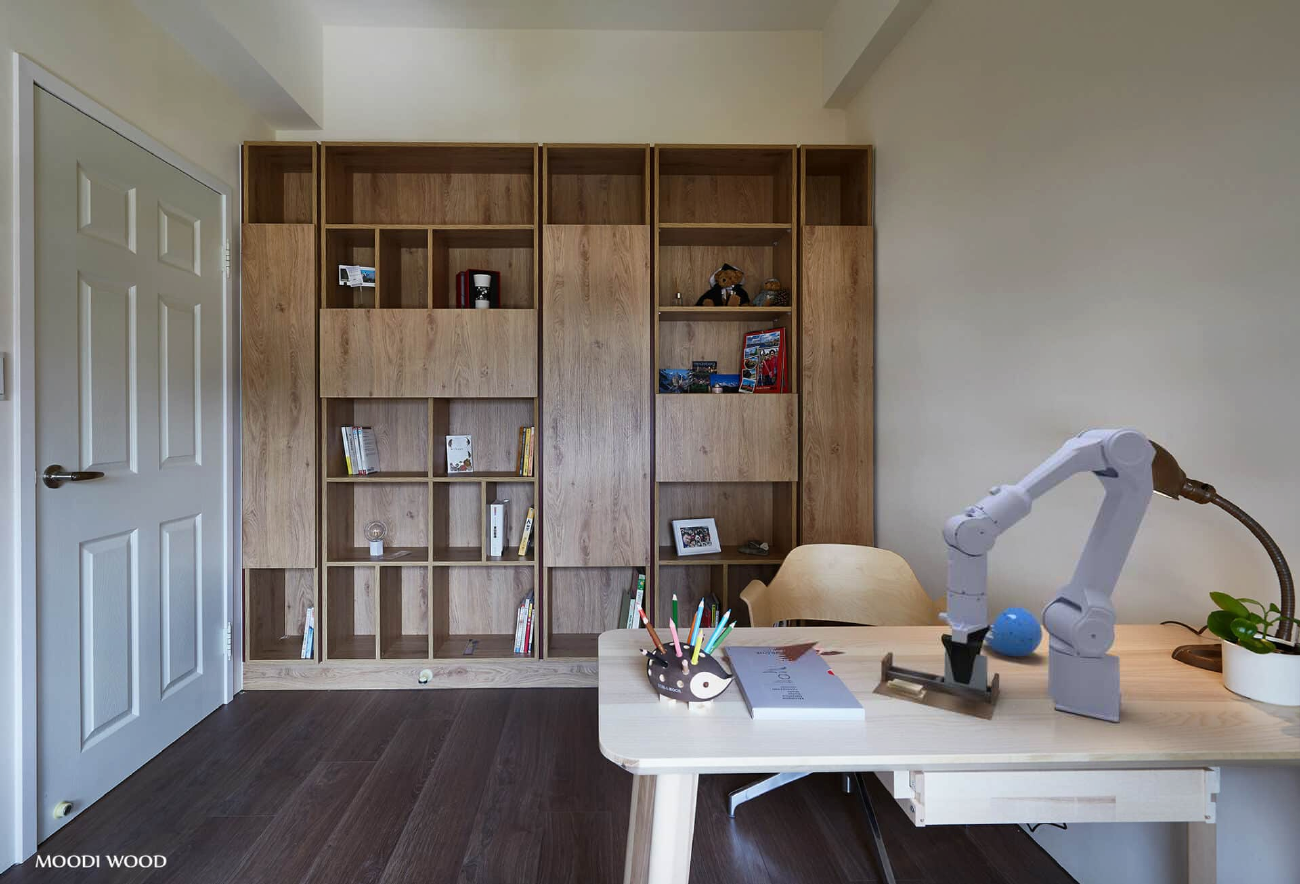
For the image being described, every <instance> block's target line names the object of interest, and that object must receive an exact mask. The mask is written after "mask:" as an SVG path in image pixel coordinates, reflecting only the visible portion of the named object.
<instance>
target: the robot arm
mask: <svg viewBox="0 0 1300 884" xmlns="http://www.w3.org/2000/svg"><path fill="white" fill-rule="evenodd" d="M1156 454H1157V451H1156V449H1155V448H1154V447H1153V445H1152V444H1151V441H1150V440H1149V439H1148V438H1147V436H1146V435H1145V434H1144V433H1143V432H1142V431H1140V430H1138V429H1135V428H1128V427H1125V428H1120V429H1118V428H1117V429H1116V428H1115V429H1114V428H1110V429H1109V428H1107V429H1106V428H1105V429H1104V428H1102V429H1101V428H1096V427H1094V428H1093V427H1092V428H1086V429H1085V430H1082V431H1080V433H1078V434H1077V435H1076V436H1075V437H1072V438H1070V439H1068V440H1066V442H1064V444H1063V445H1062V446H1061V448H1059V449H1058V450H1057V451H1056V452H1055V453H1053V454H1052V455H1051V456H1049V458H1047V459H1046V460H1045V461H1043V462H1041V464H1040V465H1039V466H1037V467H1036V468H1035V469H1034V470H1032V471H1031V472H1030V473H1028V474H1027V475H1026V476H1025V477H1024V478H1023V479H1022V480H1020V481H1019V482H1017V484H1015V485H1011V484H1002V485H1000V486H996V485H995V486H993V487H991V488H990V489H988V492H989V494H988V495H986V496H985V497H984V498H982V499H981V500H980V501H978V502H977V503H976V504H974V505H973V506H970V505H969V506H967V507H965V508H964V511H965V514H957V515H954V516H952V517H950V518H949V519H948V520H947V521H946V523H945V526H944V527H943V528H944V529H942V530H941V536H942V538H943V540H944V542H945V543H946V544H947V547H948V548H947V550H948V551H947V575H946V576H947V580H946V581H947V582H946V584H947V585H946V586H947V587H946V588H947V589H946V591H947V594H946V598H947V599H946V600H947V601H946V612H940V613H939V614H938V619H939V620H941V621H945V622H946V623H947V624H948V626H949V628H950V629H951V634H947V633H943V634H942V635H941V637H940V639H941V640H940V641H941V643H942V646H943V647H944V649H945V650H946V651H947V654H948V656H949V660H950V664H951V669H952V674H953V678H954V681H955V682H958V683H962V684H967V685H969V683H970V680H971V677H972V672H973V666H974V661H975V658H976V655H981V652H982V648H983V647H982V646H983V644H984V641H985V640H984V638H985V636H986V634H987V633H988V631H989V629H990V625H991V624H989V620H988V618H987V617H988V552H990V551H992V550H993V548H994V547H995V544H996V540H997V537H999V536H1000V535H1002V534H1004V533H1005V532H1006V531H1008V529H1010V528H1011V527H1013V526H1014V525H1016V524H1017V523H1019V522H1020V521H1021V520H1023V519H1024V518H1025V517H1027V516H1028V515H1029V514H1030V513H1031V512H1032V505H1033V502H1034V501H1035V500H1036V499H1038V498H1039V497H1041V496H1042V495H1044V494H1046V493H1047V492H1049V491H1051V490H1052V489H1054V488H1055V487H1057V486H1058V485H1059V484H1061V483H1063V482H1064V481H1066V480H1067V479H1069V478H1071V477H1072V476H1074V475H1075V474H1077V473H1084V472H1090V473H1092V475H1095V477H1097V479H1098V480H1099V482H1100V483H1101V485H1102V486H1103V488H1104V490H1105V491H1106V493H1105V496H1104V499H1103V501H1102V503H1101V505H1100V508H1099V511H1098V513H1097V515H1096V518H1095V521H1094V523H1093V525H1092V528H1091V531H1090V534H1089V535H1088V538H1087V539H1086V540H1087V541H1086V542H1085V545H1084V548H1083V551H1082V553H1081V555H1080V557H1079V560H1078V562H1077V565H1076V567H1075V570H1074V572H1073V574H1072V578H1071V580H1070V582H1069V583H1067V584H1066V585H1064V586H1062V587H1061V588H1059V589H1057V591H1056V593H1055V595H1054V597H1053V599H1051V601H1050V602H1049V603H1047V604H1045V606H1044V607H1043V609H1042V611H1041V614H1040V621H1041V625H1042V627H1043V628H1044V630H1045V631H1046V632H1047V633H1048V671H1047V672H1048V673H1047V674H1048V676H1047V678H1048V679H1047V689H1048V690H1047V696H1048V697H1049V698H1050V699H1051V700H1053V701H1055V703H1054V709H1055V710H1059V711H1063V712H1068V713H1073V714H1078V715H1081V716H1087V717H1092V718H1095V719H1096V718H1097V719H1100V720H1105V721H1110V722H1115V723H1119V722H1120V707H1121V706H1122V693H1120V684H1121V683H1120V682H1121V681H1120V678H1121V676H1120V674H1121V671H1120V666H1121V665H1120V656H1118V655H1115V654H1114V655H1112V654H1109V653H1107V652H1108V651H1109V650H1110V649H1111V648H1112V646H1113V644H1114V642H1115V637H1116V635H1115V634H1116V633H1115V629H1114V627H1115V623H1116V620H1117V616H1118V613H1117V612H1116V609H1115V607H1114V605H1113V602H1112V599H1111V597H1112V594H1113V592H1114V590H1115V587H1116V585H1117V583H1118V580H1119V577H1120V575H1121V573H1122V570H1123V568H1124V565H1125V563H1126V560H1127V558H1128V556H1129V554H1130V550H1131V548H1132V545H1133V543H1134V541H1135V539H1136V536H1137V533H1138V532H1139V529H1140V526H1141V524H1142V521H1143V519H1144V516H1145V515H1146V511H1147V509H1148V507H1149V504H1150V501H1151V499H1152V497H1153V493H1154V481H1153V469H1152V464H1153V461H1154V459H1155V456H1156Z"/></svg>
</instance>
